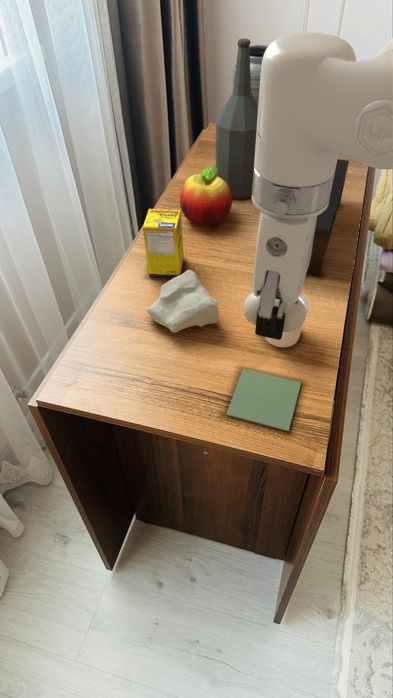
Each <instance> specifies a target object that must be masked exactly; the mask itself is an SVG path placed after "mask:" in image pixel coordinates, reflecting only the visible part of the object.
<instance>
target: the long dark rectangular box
mask: <svg viewBox="0 0 393 698" xmlns="http://www.w3.org/2000/svg"><path fill="white" fill-rule="evenodd" d="M349 164H350V160H349V159H348V160H347V159H340V158H338V159H337V164H336V169H335V174H334V179H333V184H332V189H331V194H330V198H329V204H328V207H327V208H326V210H325V211H323V212H322V213H321V214H319V215H317V220H316V227H315V232H314V238H313V245H312V252H311V258H310V262H309V266H308V269H307V273H306V275H309V276H313V277H319V278H320V277H321V275H322V272H323V271H322V270H323V265H324V260H325V256H326V253H327V249H328V245H329V241H330V239H331V235H332V232H333V228H334V223H335V221H336V217H337V213H338V209H339V207H340V206H341V202H342V198H343V197H342V196H343V192H344V187H345V183H346V178H347V173H348V169H349Z"/></svg>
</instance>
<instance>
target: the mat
mask: <svg viewBox="0 0 393 698" xmlns="http://www.w3.org/2000/svg"><path fill="white" fill-rule="evenodd" d="M301 386H302V382H300V381H296V380H292V379H289V378H284V377H281V376H280V377H279V376H275V375H272V374H268V373H262V372H260V371H257V370H256V371H255V370H252V369H247V368H242V371H241V373H240V376H239V378H238V381H237V384H236V387H235V390H234V392H233V394H232V399H231V401H230V402H229V406H228V408H227V411H226V416H228V417H231V418H235V419H239V420H242V421H245V422H250V423H253V424H258V425H261V426H265V427H269V428H272V429H276V430H280V431H284V432H290V428H291V425H292V422H293V421H292V420H293V417H294V413H295V409H296V405H297V402H298V397H299V394H300V390H301Z"/></svg>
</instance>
